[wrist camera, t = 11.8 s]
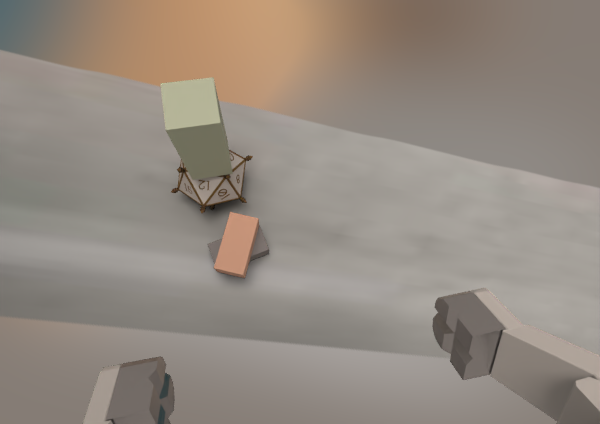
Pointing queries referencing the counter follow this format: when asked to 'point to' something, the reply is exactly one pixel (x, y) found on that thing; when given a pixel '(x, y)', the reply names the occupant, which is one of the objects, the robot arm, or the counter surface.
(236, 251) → the terracotta brick
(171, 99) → the green block
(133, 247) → the counter surface
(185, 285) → the counter surface
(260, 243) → the charcoal brick
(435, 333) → the robot arm
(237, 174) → the game die
